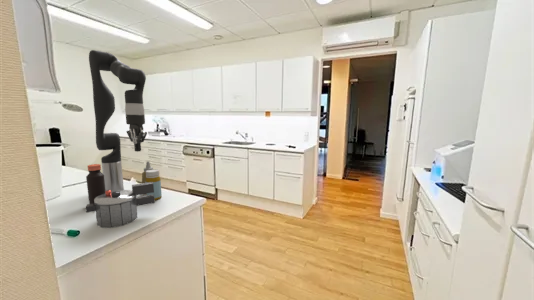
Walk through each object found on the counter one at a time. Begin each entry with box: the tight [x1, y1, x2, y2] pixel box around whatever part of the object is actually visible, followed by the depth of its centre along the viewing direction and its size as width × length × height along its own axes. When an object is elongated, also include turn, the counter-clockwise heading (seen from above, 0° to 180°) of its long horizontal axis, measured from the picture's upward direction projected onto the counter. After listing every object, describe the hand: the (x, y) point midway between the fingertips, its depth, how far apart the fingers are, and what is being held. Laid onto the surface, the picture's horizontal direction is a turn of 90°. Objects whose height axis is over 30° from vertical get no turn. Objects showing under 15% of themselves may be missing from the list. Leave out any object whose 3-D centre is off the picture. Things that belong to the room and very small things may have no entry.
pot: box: [85, 194, 156, 229], centre depth 97 cm, size 24×14×9 cm, turn 119°
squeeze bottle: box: [141, 161, 154, 183], centre depth 128 cm, size 8×8×18 cm
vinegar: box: [85, 163, 106, 204], centre depth 110 cm, size 7×7×20 cm
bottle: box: [146, 168, 162, 201], centre depth 120 cm, size 7×7×15 cm
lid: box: [94, 182, 154, 206], centre depth 97 cm, size 21×15×5 cm
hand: (138, 151), depth 107 cm, fingers closed
